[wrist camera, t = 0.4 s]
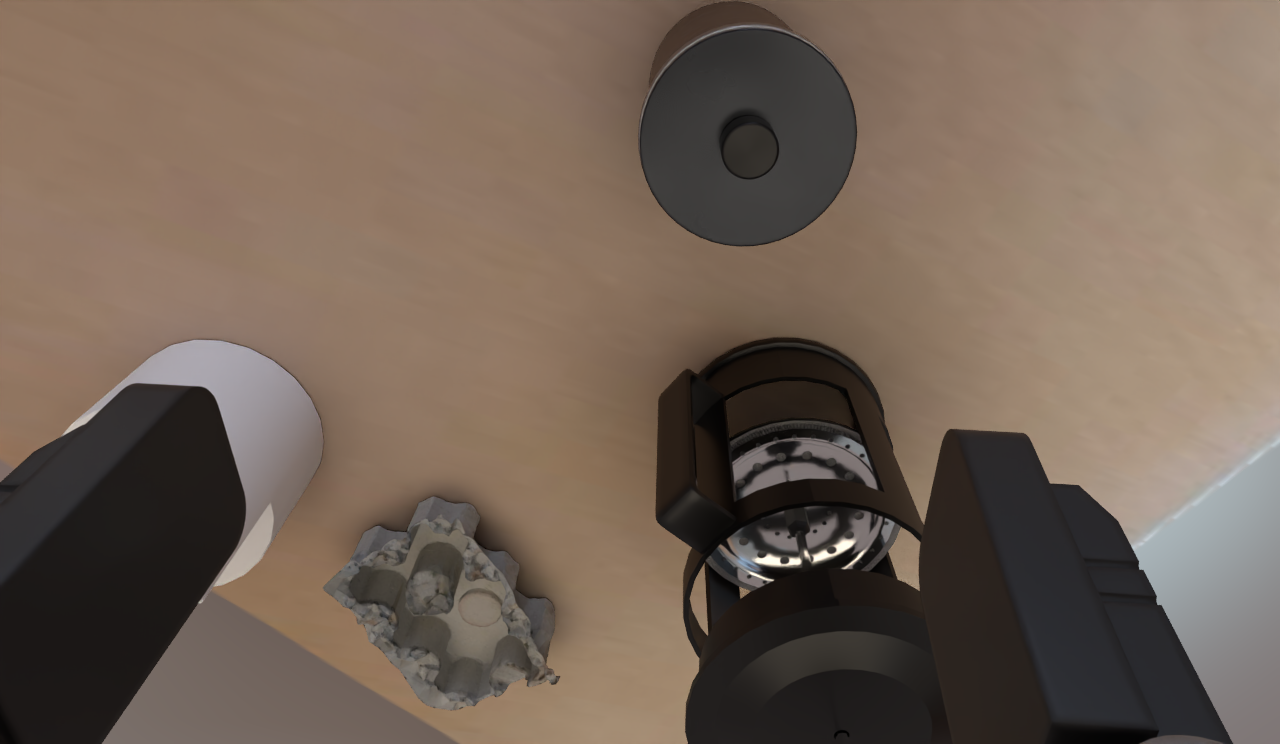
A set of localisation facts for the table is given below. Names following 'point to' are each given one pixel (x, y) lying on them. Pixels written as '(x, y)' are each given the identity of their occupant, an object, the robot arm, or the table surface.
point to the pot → (744, 126)
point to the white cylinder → (245, 432)
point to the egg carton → (446, 608)
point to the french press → (795, 561)
